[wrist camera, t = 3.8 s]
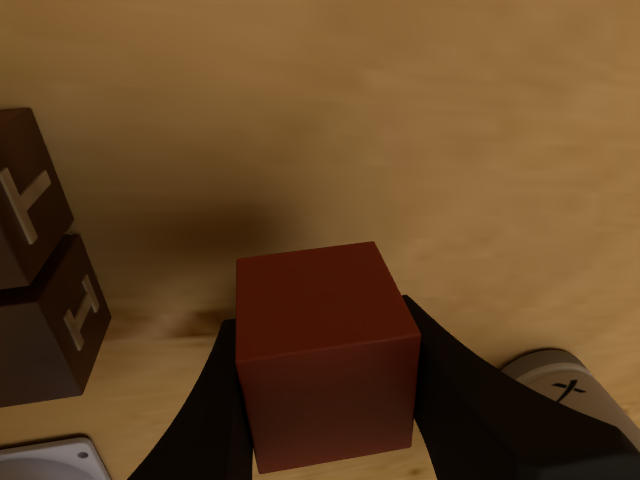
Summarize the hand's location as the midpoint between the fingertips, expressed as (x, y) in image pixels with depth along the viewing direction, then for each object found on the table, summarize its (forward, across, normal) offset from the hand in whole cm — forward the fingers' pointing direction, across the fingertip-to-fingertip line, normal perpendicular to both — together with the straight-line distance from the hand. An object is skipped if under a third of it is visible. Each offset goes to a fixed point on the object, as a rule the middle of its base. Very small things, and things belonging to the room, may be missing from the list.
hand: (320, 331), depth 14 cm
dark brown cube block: (+6, +11, +1) cm, 13 cm away
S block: (+1, 0, 0) cm, 1 cm away
